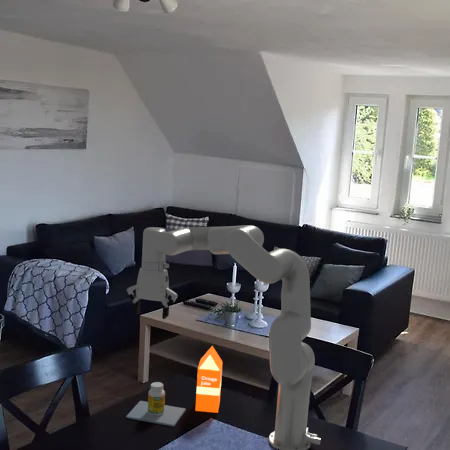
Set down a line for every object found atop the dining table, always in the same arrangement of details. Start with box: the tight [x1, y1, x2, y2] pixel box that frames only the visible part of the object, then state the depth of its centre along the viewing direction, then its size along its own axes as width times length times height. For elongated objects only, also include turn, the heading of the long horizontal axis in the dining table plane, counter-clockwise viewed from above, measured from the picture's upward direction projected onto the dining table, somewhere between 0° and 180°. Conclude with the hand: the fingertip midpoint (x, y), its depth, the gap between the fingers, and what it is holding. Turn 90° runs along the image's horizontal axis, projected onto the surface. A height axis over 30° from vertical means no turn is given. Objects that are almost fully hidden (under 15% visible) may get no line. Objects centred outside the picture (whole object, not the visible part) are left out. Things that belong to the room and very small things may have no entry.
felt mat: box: [125, 400, 187, 427], centre depth 206 cm, size 16×12×1 cm
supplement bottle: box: [147, 381, 166, 416], centre depth 205 cm, size 5×5×10 cm
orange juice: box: [194, 345, 223, 414], centre depth 213 cm, size 8×9×20 cm
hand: (150, 316), depth 209 cm, fingers open, 9 cm apart
